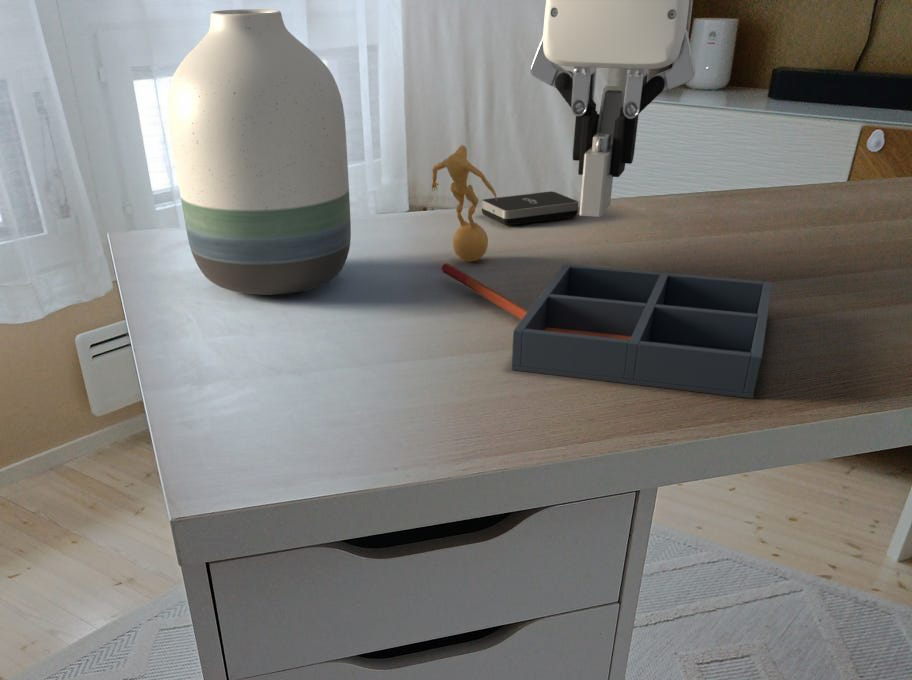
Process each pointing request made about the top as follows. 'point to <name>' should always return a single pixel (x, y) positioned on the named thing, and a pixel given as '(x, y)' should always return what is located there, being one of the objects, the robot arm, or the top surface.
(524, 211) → the external hard drive
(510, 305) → the pencil
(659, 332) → the grid
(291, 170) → the vase
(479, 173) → the figurine
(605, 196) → the lighter
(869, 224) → the top surface
